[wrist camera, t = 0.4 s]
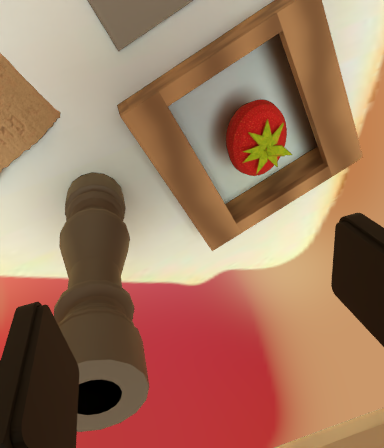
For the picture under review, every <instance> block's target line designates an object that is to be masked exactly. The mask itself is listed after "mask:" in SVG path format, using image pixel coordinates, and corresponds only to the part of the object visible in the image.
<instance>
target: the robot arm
mask: <svg viewBox="0 0 384 448" xmlns="http://www.w3.org/2000/svg"><path fill="white" fill-rule="evenodd" d="M332 290H333V292H334V294H335V295H336V296H337V297H338V298H339V299H340V301H341V302H342V303H343V304H344V305H345V306H346V307H347V308H348V309H349V310H350V311H351V312H352V313H353V314H354V316H355V317H356V318H357V319H358V320H359V321H360V322H361V323H362V324H363V325H364V326H365V327H366V328H367V329H368V331H369V332H370V333H371V334H372V335H373V336H374V337H375V338H376V339H377V340H378V341H379V342H380V343H381V344H382V345H383V347H384V228H383V227H381V226H380V225H378V224H377V223H375V222H374V221H372V220H371V219H369V218H368V217H366V216H365V215H363V214H361V213H355V214H351V215H348V216H345V217H342V218H341V219H340V221H339V223H337V224H336V229H335V242H334V256H333V271H332ZM78 393H79V367H78V364H77V361H76V359H75V358H74V356H73V354H72V352H71V350H70V348H69V346H68V344H67V342H66V340H65V338H64V336H63V334H62V332H61V330H60V328H59V326H58V324H57V322H56V320H55V318H54V316H53V314H52V312H51V310H50V308H49V307H48V306H47V305H43V306H42V305H41V304H40V303H39V302H35V303H31V304H28V305H24V306H21V307H18V308H17V309H16V311H15V314H14V318H13V321H12V324H11V328H10V331H9V335H8V338H7V341H6V345H5V348H4V351H3V355H2V358H1V360H0V448H76V433H77V413H78ZM275 448H384V408H382V409H379V410H376V411H373V412H371V413H368V414H365V415H362V416H360V417H357V418H354V419H351V420H349V421H346V422H343V423H340V424H338V425H335V426H332V427H329V428H327V429H324V430H321V431H319V432H316V433H313V434H310V435H308V436H305V437H302V438H300V439H297V440H294V441H291V442H289V443H286V444H283V445H280V446H278V447H275Z"/></svg>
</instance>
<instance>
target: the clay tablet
mask: <svg viewBox="0 0 384 448" xmlns="http://www.w3.org/2000/svg"><path fill="white" fill-rule="evenodd" d="M56 118H60V112H59V111H57V110H56V109H54V108H53V107H52V105H51V104H50V103H49V102H48V101H46V100H45V99H44V98H43V97H42V96H41V95H40V94H39V93H38V92H37V90H36V89H35V88H34V87H33V86H32V85H31V84H30V83H29V82H27V81H26V80H25V78H24V77H23V76H22V75H21V74H20V73H19V72H18V71H17V70H16V69H15V68H14V67H13V66H12V65H11V63H10V62H9V61H8V60H7V59H6V58H5V57H4V56H3V55H2V54H1V53H0V172H1V171H2V169H3V167H7V166H9V164H10V163H11V162H12V161H13V160H14V159H16V158H18V157H19V156H20V155H21V154H22V153H23V151H25V150H29V149H30V147H31V145H33V144H35V143H37V142H38V140H39V139H40V138H42V136H43V135H44V134H45V133H46V132H47V130H48V128H50V127H52V126H53V122H56V120H57V119H56Z"/></svg>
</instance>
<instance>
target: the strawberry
mask: <svg viewBox="0 0 384 448" xmlns="http://www.w3.org/2000/svg"><path fill="white" fill-rule="evenodd" d="M286 136H287V128H286V122H285V119H284V117H283V115H282V113H281V112H280V110H279V109H278V108H277V107H276V106H275V105H274V104H273V103H271V102H269V101H267V100H255V101H252V102H250V103H247V104H245V105H243V106H242V107H240V108H239V109H238V110H237V111H236V112H235V114H234V115H233V116H232V118H231V120H230V122H229V125H228V128H227V133H226V146H227V150H228V153H229V157H230V160H231V162H232V164H233V165H234V167H235V168H236V169H237V170H239V171H240V172H242V173H244V174H247V175H252V176H256V175H261V174H263V173H265V172H267V171H268V170H270V169H271V168H272V167H273V166H274V165H275V166H276V167H278V164H277V161H278V159H279V158H280V156H285V155H292V154H291V153H290V152H289V151H288V150H287V149H285V148H284V146H285V142H286Z"/></svg>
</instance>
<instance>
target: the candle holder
mask: <svg viewBox="0 0 384 448" xmlns="http://www.w3.org/2000/svg"><path fill="white" fill-rule="evenodd" d="M124 214H125V204H124V197H123V194H122V190H121V187H120V186H119V185H118V184H117V182H116V181H115V180H114V179H113V178H111V177H109V176H107V175H105V174H100V173H89V174H85V175H81V176H80V177H79V178H77V179H76V180H75V181H73V182H72V184H71V186H70V188H69V190H68V192H67V198H66V203H65V215H66V217H67V218H66V223H65V225H64V227H63V228H62V230H61V233H60V250H61V253H62V256H63V260H64V263H65V267H66V270H67V274H68V277H69V283H68V290H66V291H65V292H63V293H62V295H61V297H60V298H59V300H58V302H57V304H56V305H55V308H54V318H55V320H56V322H57V324H58V326H59V328H60V330H61V332H62V334H63V336H64V338H65V340H66V342H67V344H68V346H69V348H70V350H71V352H72V354H73V356H74V358H75V359H76V361H77V364H78V367H79V393H78V413H77V431H78V432H82V431H91V430H100V429H104V428H106V427H109V426H112V425H115V424H118V423H121V422H122V421H124V420H125V419H127V418H128V417H130V416H131V415H133V414H134V413H136V412H137V411H138V409H139V408H140V407H141V406H142V404H143V403H144V402H145V401H146V398H147V394H148V390H149V382H148V375H147V368H146V362H145V355H144V348H143V342H142V339H141V336H140V334H139V331H138V329H137V328H136V327H134V324H133V322H132V319H133V313H134V305H133V303H132V300H131V297H130V295H129V293H128V292H127V291H126V290H124V289H123V288H122V284H121V273H122V270H123V266H124V263H125V259H126V256H127V252H128V248H129V241H130V237H129V233H128V230H127V227H126V225H125V223H124V222H123V219H124Z"/></svg>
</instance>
